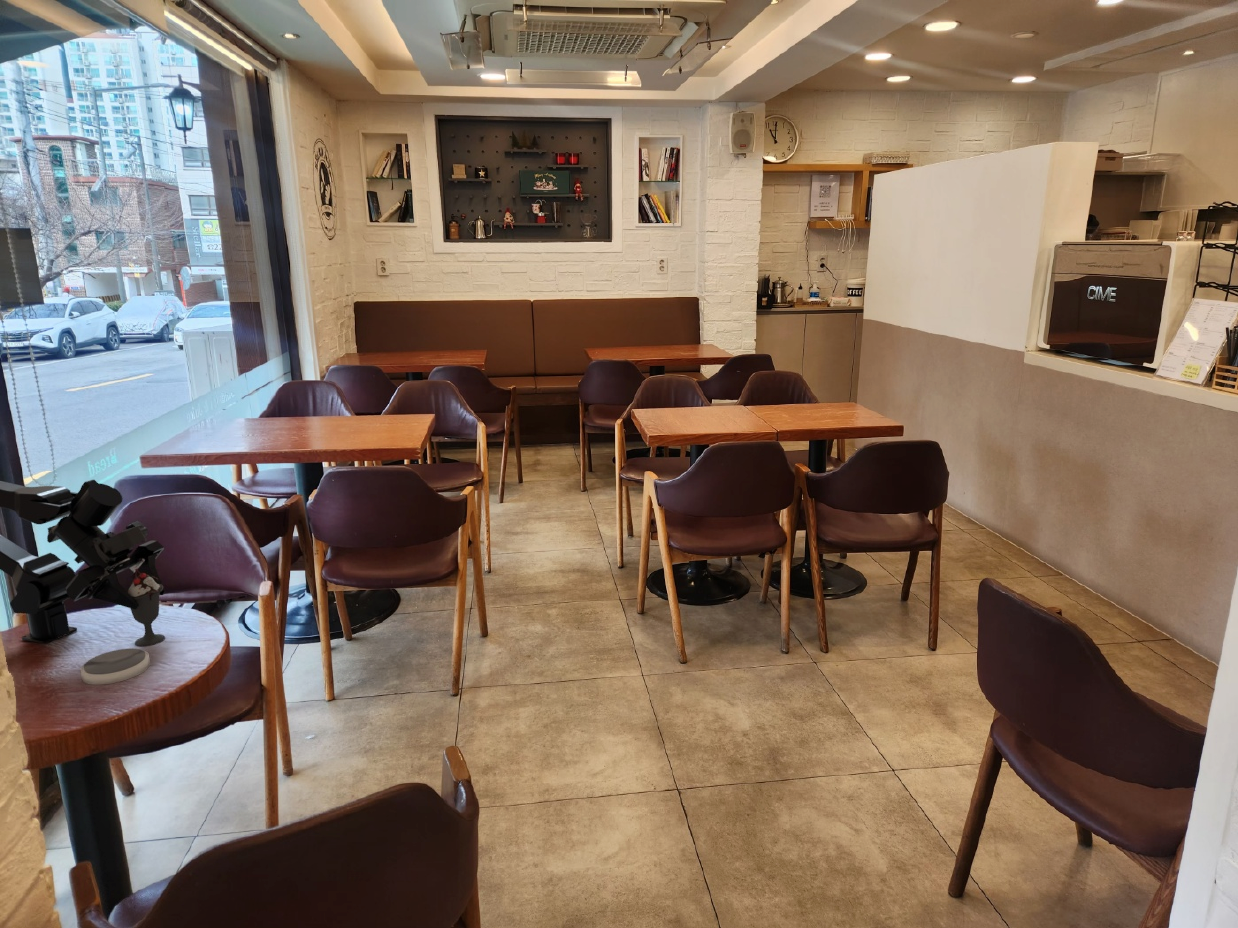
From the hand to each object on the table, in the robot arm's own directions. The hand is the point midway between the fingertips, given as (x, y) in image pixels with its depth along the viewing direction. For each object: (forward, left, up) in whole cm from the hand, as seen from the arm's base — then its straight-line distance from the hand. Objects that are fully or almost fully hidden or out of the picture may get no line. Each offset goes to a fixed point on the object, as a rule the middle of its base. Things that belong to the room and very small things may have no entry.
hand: (151, 600), depth 145 cm
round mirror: (+4, -11, -8) cm, 14 cm away
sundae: (-1, 0, -8) cm, 8 cm away
